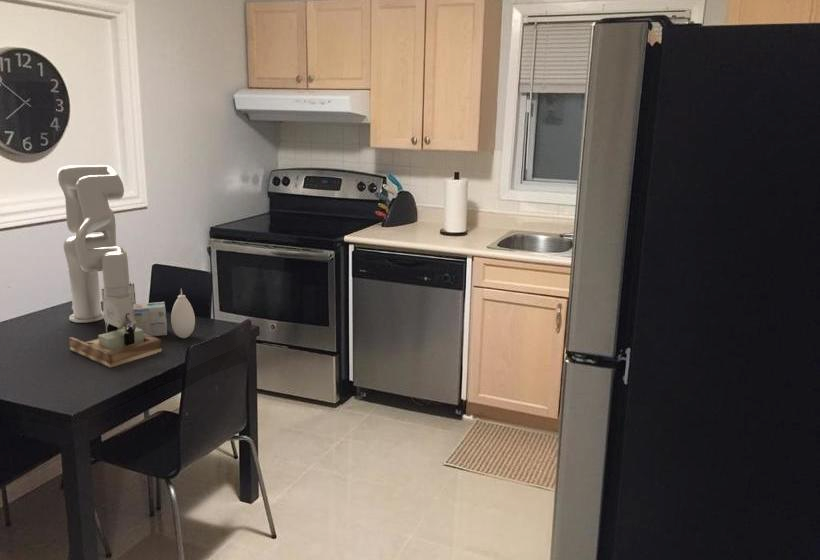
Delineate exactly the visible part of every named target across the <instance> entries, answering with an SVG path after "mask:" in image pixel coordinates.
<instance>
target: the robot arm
mask: <svg viewBox="0 0 820 560" xmlns="http://www.w3.org/2000/svg"><path fill="white" fill-rule="evenodd" d="M57 181H58V184H59V186H60V189H61V190H62V192H63V195H64V199H65V200H64V201H65V212H66V213H65V214H66V215H65V216H66V227H67V229H68V230H69V231H70V232H71V233H72V234H76V235H74V236H70V237H68V238H67V239H65V240H64V242H63V251H64V255H65V259H66V262H67V267H68V274H69V282H70V284H69V285H70V292H71V301H72V302H71V303H72V305H71V309H72V310H73V313H72V314H70V315H69V316H68V317H69V321H70V322H73V323H79V324H80V323H81V324H86V323H94V322H98V321H101V320H103V321H104V323H105V322H106V325H105V327H106V326H108V327H107V333H108V332H112V331H116V330H117V327H118V328H121V327H123V330H124V332H125V334H124V341H125V345H126V346H127V345H131V344H134V343H135V338H134V332H135V329H136V324H137V323H136V321H135V320H134V319H133V311H132V304H131V299H130V284H129V282H130V274H129V259H128V255H127V251H126V250H124V248H123V247H121V246H117V234H116V233H117V230H116V228H117V227H116V225H117V224H116V217H115V213H114V211H113V210H112V209H111V207H110V204H109V201H111V200H112V201H113V200H121V199H122V198H123V197H124V194H125V187H124V186H125V185H124V182H123V180H122V179H121V177H120V176H119V174H118V173H117V171H115V170H114V169H113V168H112V167H111V166H109V165H105V164H104V165H103V164H101V165H100V164H96V165H67V166H66V165H65V166H63V167H60V168H59V169H58V170H57ZM94 233H96V234H94ZM99 272H102V281H103V289H104V304H103V303H102V302H101V292H100V281H99ZM102 306H103V310H102ZM125 323H126V324H125ZM127 326H129V328H128V330H127V328H126V327H127Z"/></svg>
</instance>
